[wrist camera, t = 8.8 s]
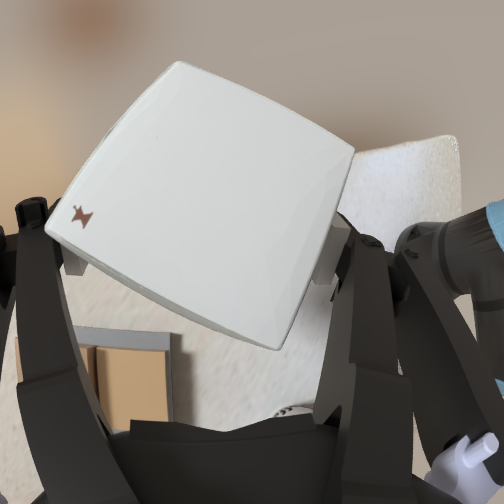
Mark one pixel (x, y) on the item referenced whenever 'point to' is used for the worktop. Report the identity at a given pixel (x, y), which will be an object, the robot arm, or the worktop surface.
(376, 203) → the worktop surface
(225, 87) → the supplement box
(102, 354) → the build base
